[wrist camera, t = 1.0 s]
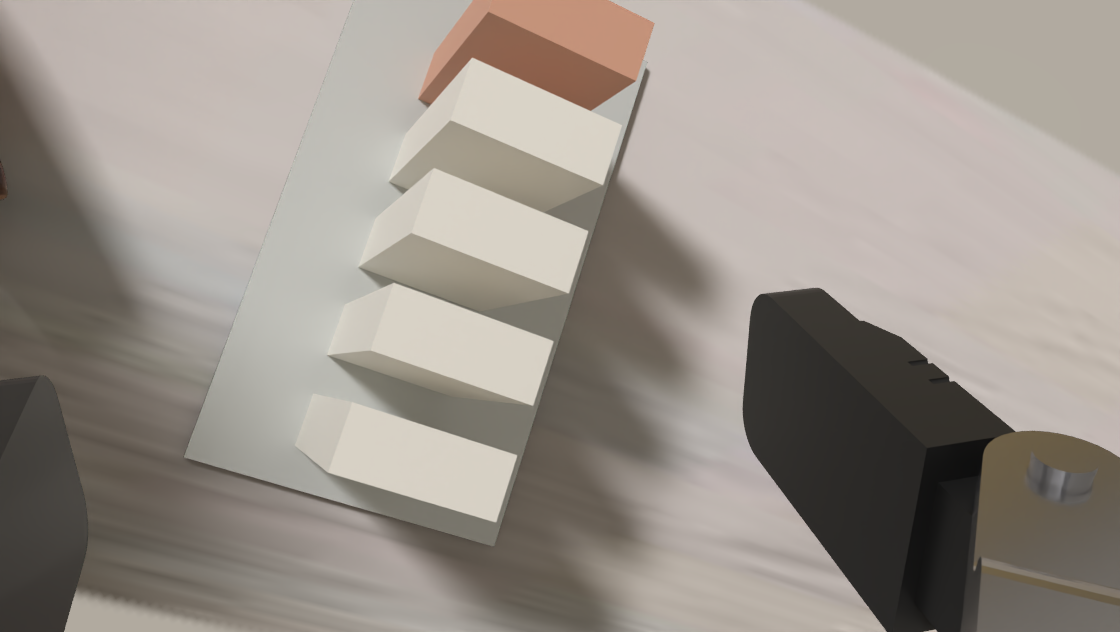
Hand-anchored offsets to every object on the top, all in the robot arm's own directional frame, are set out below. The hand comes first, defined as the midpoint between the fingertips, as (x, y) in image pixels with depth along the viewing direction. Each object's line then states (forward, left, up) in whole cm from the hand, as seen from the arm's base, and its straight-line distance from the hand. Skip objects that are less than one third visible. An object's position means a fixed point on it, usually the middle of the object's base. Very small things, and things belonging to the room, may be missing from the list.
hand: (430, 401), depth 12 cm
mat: (+4, +7, -27) cm, 28 cm away
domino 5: (+4, -1, -26) cm, 26 cm away
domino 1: (+4, +13, -26) cm, 29 cm away
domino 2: (+4, +9, -26) cm, 28 cm away
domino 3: (+4, +6, -26) cm, 27 cm away
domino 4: (+4, +2, -26) cm, 26 cm away
